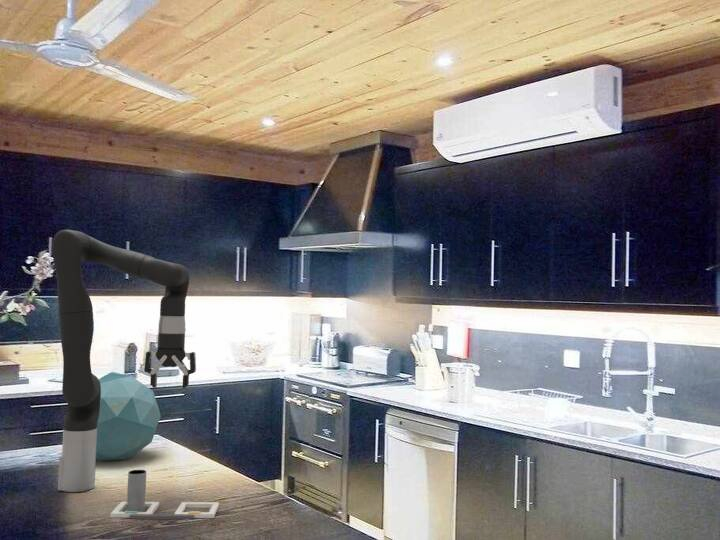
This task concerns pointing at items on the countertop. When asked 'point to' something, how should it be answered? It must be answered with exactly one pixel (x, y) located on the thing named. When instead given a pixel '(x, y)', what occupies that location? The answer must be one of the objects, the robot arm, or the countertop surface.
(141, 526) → the countertop surface
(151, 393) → the sculpture
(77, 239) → the robot arm
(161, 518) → the thin gray bar
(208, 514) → the socket
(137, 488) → the planter
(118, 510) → the socket
